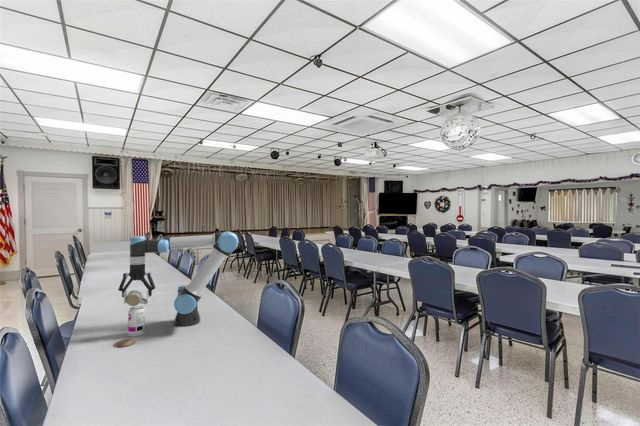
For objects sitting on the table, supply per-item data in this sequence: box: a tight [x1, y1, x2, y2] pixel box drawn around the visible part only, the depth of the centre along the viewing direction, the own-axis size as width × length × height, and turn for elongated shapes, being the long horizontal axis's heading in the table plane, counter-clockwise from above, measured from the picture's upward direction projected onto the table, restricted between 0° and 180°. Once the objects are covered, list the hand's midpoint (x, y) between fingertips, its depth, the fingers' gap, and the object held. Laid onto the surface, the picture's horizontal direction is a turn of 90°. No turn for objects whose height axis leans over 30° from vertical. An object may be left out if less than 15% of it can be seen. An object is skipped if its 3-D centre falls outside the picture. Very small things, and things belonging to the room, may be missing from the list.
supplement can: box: [127, 305, 146, 338], centre depth 178 cm, size 8×8×15 cm
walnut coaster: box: [115, 338, 137, 348], centre depth 165 cm, size 9×9×1 cm
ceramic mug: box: [126, 289, 148, 307], centre depth 178 cm, size 11×8×8 cm
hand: (136, 302), depth 178 cm, fingers closed on ceramic mug, 11 cm apart
